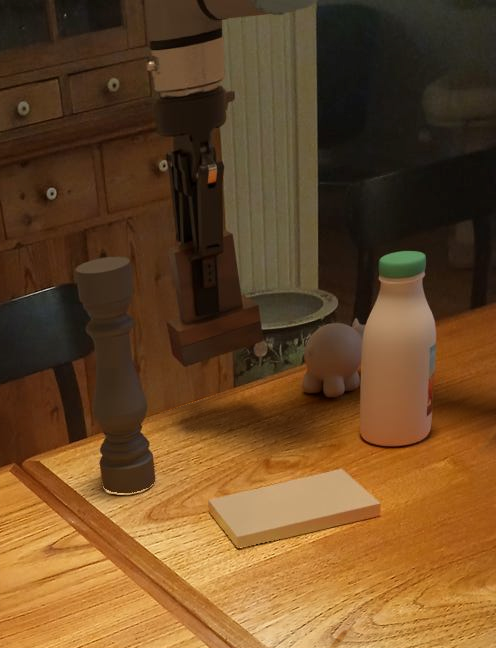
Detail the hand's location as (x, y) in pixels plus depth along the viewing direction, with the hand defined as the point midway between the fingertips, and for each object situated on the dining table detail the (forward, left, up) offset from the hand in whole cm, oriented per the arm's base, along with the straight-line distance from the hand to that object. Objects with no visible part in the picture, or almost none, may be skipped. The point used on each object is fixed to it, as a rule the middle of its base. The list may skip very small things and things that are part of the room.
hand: (203, 309), depth 118 cm
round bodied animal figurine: (-19, -2, -15) cm, 24 cm away
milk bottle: (-17, +15, -15) cm, 27 cm away
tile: (0, +28, -14) cm, 31 cm away
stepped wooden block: (-1, 0, -5) cm, 5 cm away
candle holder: (+14, +12, -15) cm, 23 cm away
